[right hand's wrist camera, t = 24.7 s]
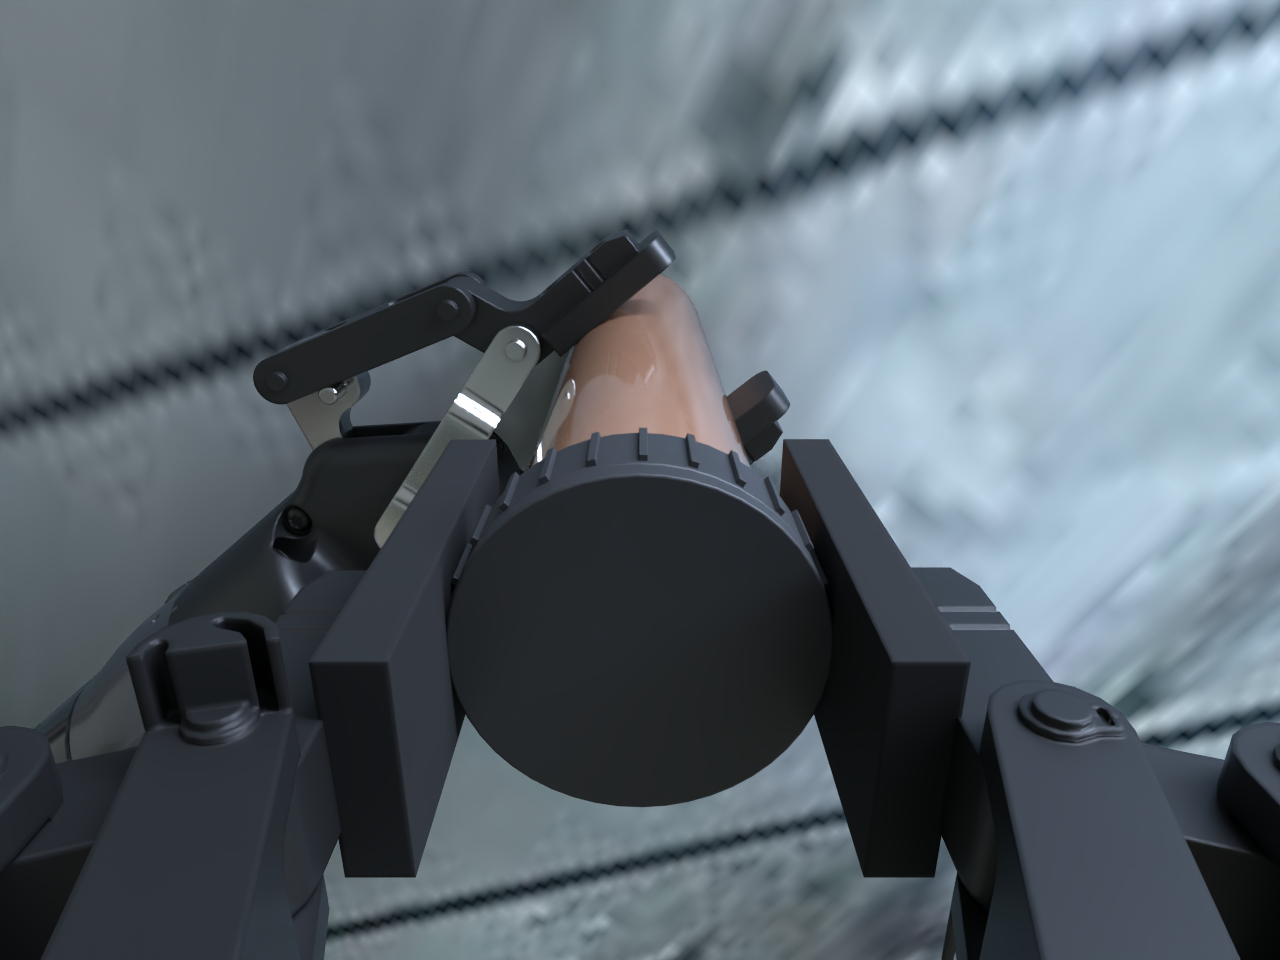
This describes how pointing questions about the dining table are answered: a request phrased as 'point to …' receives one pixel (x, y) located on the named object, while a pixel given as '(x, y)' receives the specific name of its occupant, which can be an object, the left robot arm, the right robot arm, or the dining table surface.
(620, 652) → the lid
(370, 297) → the dining table surface
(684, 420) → the jar
